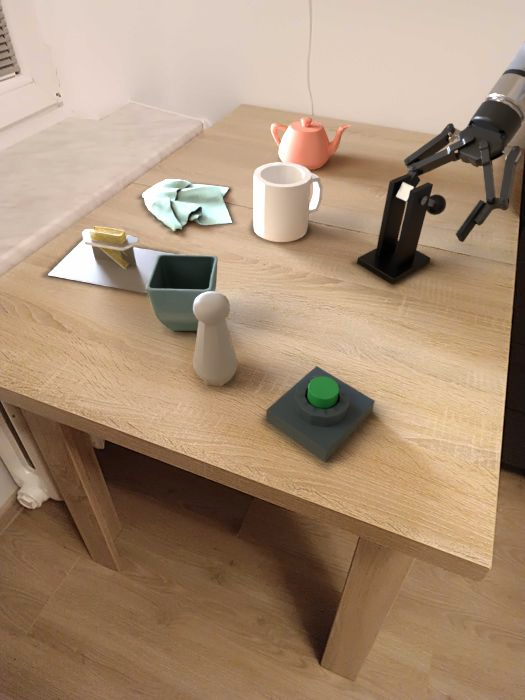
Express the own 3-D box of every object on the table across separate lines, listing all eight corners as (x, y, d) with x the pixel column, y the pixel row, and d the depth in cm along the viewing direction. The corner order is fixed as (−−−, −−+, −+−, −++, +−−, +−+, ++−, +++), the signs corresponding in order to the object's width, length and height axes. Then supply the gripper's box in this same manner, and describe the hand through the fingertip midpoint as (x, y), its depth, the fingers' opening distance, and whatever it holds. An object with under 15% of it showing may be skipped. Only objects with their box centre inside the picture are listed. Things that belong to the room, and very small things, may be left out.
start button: (319, 381, 62) (320, 371, 60) (343, 396, 60) (345, 386, 59) (301, 398, 60) (302, 388, 58) (325, 413, 58) (327, 404, 57)
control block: (315, 377, 67) (317, 355, 64) (372, 412, 63) (377, 390, 60) (266, 420, 62) (266, 399, 59) (324, 462, 57) (328, 441, 55)
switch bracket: (393, 244, 92) (411, 165, 81) (429, 263, 87) (452, 182, 77) (356, 263, 87) (369, 182, 77) (392, 284, 82) (411, 201, 72)
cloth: (164, 176, 111) (163, 166, 109) (256, 193, 106) (256, 182, 104) (114, 219, 97) (111, 208, 95) (217, 241, 92) (216, 229, 90)
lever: (426, 212, 88) (436, 193, 87) (442, 219, 86) (453, 200, 85) (390, 198, 79) (401, 177, 77) (408, 206, 77) (419, 185, 75)
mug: (300, 205, 102) (303, 153, 95) (331, 227, 96) (338, 173, 88) (243, 223, 96) (242, 170, 89) (273, 247, 90) (275, 192, 83)
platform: (146, 293, 80) (139, 258, 76) (47, 275, 83) (35, 240, 79) (175, 254, 88) (171, 220, 84) (84, 238, 92) (75, 205, 87)
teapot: (275, 147, 123) (277, 106, 117) (348, 155, 121) (354, 113, 114) (264, 167, 115) (264, 124, 108) (342, 176, 112) (347, 133, 105)
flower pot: (165, 301, 79) (157, 252, 72) (220, 303, 78) (218, 254, 72) (154, 339, 72) (144, 289, 66) (214, 341, 72) (211, 291, 66)
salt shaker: (207, 398, 64) (200, 320, 55) (187, 371, 68) (176, 294, 59) (246, 379, 67) (244, 303, 58) (224, 354, 70) (220, 278, 61)
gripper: (577, 148, 79) (493, 261, 83) (445, 106, 93) (378, 204, 96) (576, 120, 73) (485, 243, 76) (435, 80, 87) (363, 186, 90)
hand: (425, 222), depth 86 cm, fingers open, 13 cm apart
